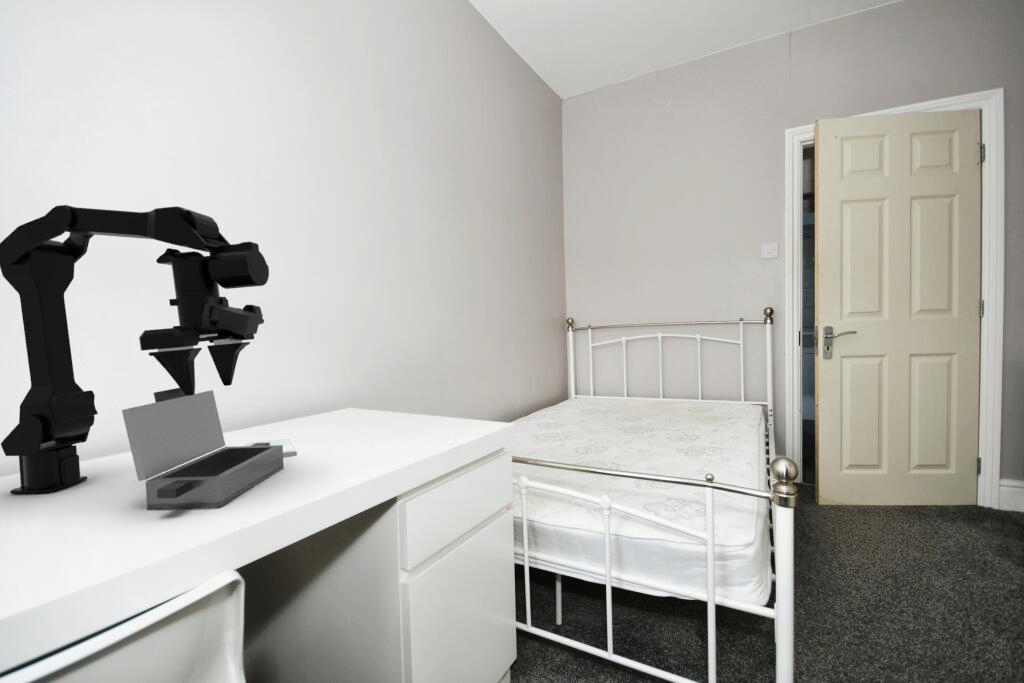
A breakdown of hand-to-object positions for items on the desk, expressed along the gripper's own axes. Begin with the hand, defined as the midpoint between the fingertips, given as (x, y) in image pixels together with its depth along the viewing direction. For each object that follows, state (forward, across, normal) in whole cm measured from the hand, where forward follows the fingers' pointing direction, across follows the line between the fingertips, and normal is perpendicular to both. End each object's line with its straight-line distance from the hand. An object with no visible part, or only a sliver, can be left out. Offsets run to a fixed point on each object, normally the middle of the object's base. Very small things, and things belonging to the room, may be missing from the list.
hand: (210, 390), depth 74 cm
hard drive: (+16, +18, +2) cm, 24 cm away
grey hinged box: (+15, -2, -2) cm, 15 cm away
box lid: (+5, -2, +4) cm, 6 cm away
